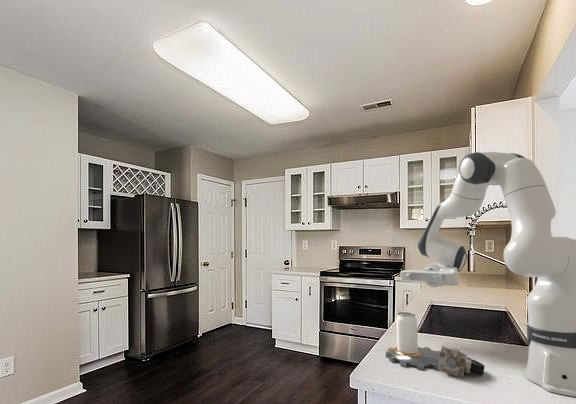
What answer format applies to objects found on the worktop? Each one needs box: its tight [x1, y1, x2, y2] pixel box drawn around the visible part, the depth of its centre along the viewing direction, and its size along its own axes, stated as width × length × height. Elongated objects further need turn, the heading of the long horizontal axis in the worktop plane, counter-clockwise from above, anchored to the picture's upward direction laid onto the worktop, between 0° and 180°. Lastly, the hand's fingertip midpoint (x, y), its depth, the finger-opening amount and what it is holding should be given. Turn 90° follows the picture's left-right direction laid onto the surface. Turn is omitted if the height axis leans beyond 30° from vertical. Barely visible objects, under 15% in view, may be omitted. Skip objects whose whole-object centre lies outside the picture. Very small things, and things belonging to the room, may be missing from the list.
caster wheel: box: [436, 345, 485, 379], centre depth 101 cm, size 7×11×10 cm
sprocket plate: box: [385, 346, 441, 371], centre depth 112 cm, size 19×19×1 cm
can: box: [396, 311, 419, 354], centre depth 114 cm, size 6×6×12 cm
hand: (420, 278), depth 124 cm, fingers open, 8 cm apart
